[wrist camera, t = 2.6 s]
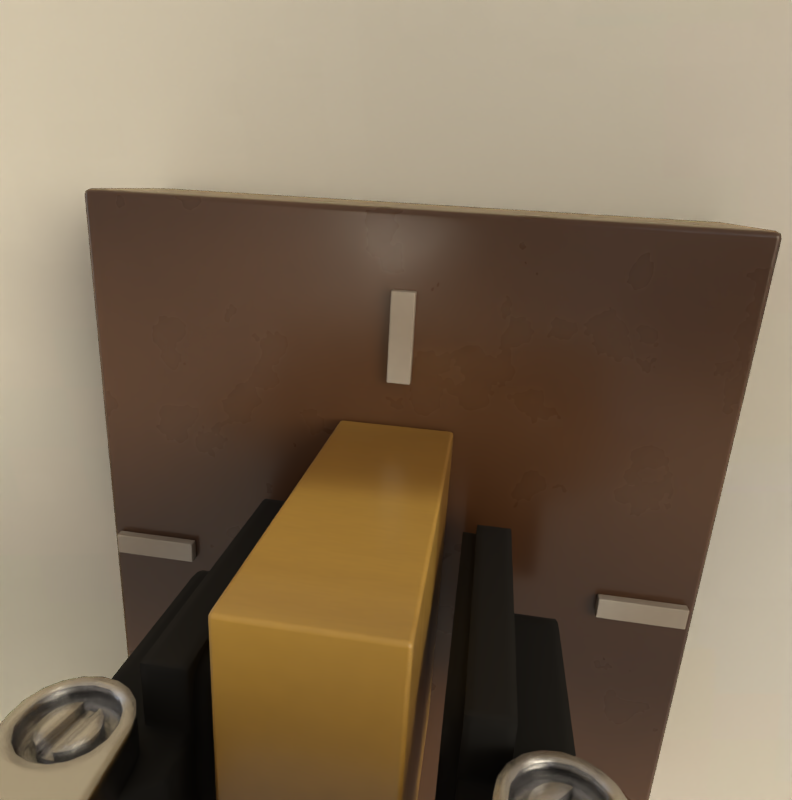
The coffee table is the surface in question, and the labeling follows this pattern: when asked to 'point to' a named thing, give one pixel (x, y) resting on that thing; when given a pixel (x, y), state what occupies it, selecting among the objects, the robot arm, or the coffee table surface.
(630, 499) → the panel
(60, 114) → the coffee table surface
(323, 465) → the yellow slab
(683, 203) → the coffee table surface
